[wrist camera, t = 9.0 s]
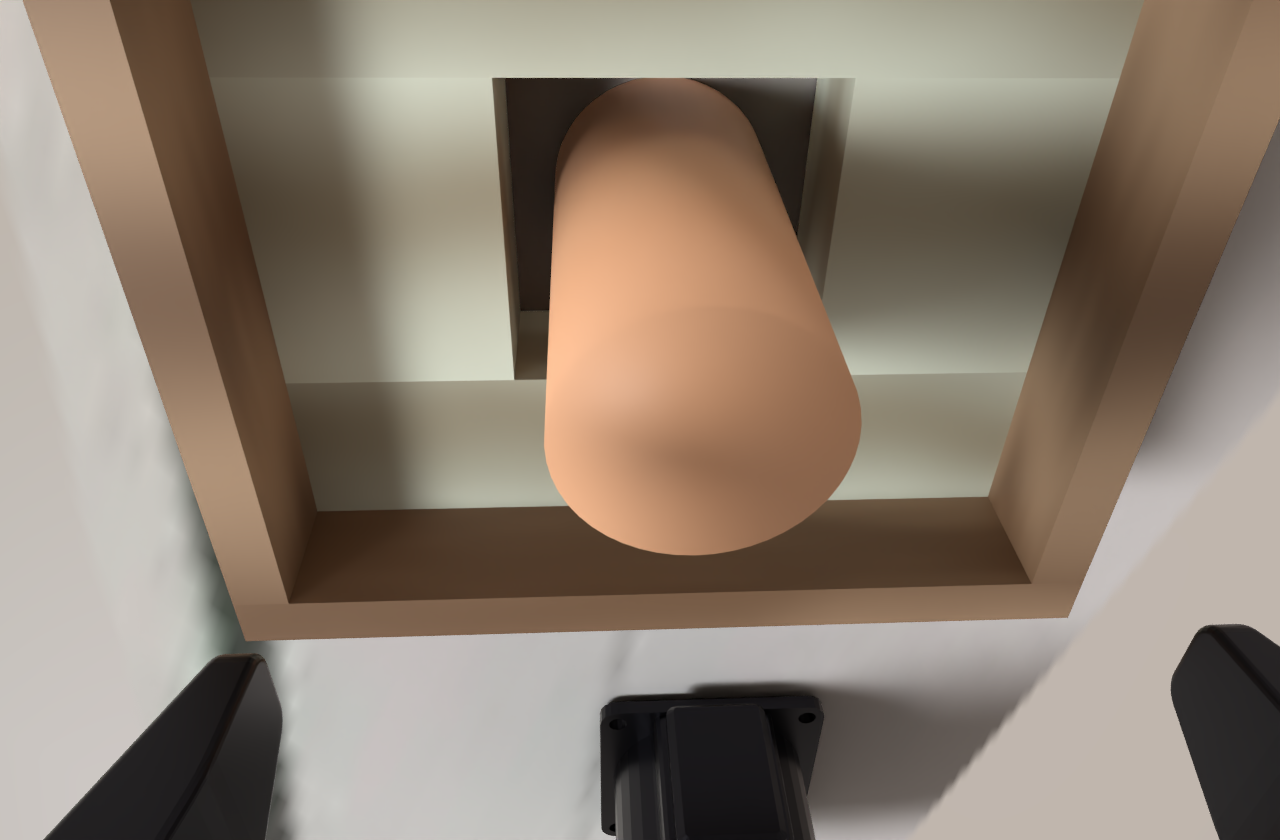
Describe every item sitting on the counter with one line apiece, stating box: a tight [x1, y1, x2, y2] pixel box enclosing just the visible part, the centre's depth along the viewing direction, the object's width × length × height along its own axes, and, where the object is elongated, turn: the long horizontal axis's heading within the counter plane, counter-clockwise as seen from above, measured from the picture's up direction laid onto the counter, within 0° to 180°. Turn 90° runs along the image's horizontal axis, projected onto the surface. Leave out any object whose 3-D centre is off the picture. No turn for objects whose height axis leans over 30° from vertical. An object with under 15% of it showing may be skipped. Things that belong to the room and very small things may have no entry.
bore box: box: [23, 0, 1280, 641], centre depth 17 cm, size 14×16×5 cm
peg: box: [544, 78, 862, 555], centre depth 15 cm, size 4×4×8 cm
